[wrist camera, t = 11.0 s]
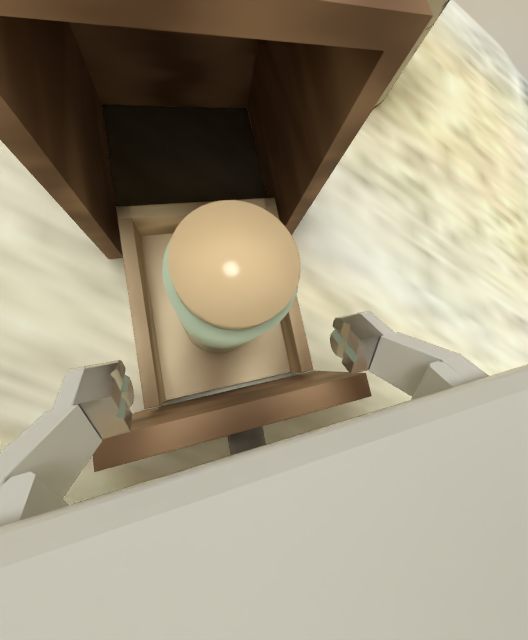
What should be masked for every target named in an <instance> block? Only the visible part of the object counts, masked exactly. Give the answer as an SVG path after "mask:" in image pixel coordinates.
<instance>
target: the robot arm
mask: <svg viewBox="0 0 528 640" xmlns="http://www.w3.org/2000/svg"><path fill="white" fill-rule="evenodd" d="M333 327H334V329H335V330H334V331H333V332H332V334H331V337H330V343H331V348H332V350H333V352H334V353H335V354H336V355H337V356H339V357H341V358H342V364H343V365H344V366H345V367H346V369H347V370H348V371H349V373H350V374H354V373H358V372H362V371H367V370H369V371H370V372H372V373H373V374H375V375H377V376H378V377H380V378H382V379H383V380H385V381H387V382H388V383H390V384H392V385H393V386H395V387H397V388H399V389H400V390H402V391H404V392H405V393H407V394H409V395H410V396H412V398H411V400H410V401H407V402H404V403H400V404H397V405H394V406H390V407H387V408H384V409H381V410H377V411H374V412H371V413H368V414H365V415H361V416H358V417H355V418H352V419H348V420H345V421H342V422H339V423H335V424H332V425H329V426H326V427H322V428H319V429H316V430H313V431H309V432H306V433H303V434H300V435H296V436H293V437H290V438H287V439H283V440H280V441H277V442H274V443H270V444H267V445H264V446H260V447H257V448H254V449H251V450H247V451H244V452H241V453H238V454H234V455H231V456H228V457H225V458H221V459H218V460H215V461H212V462H208V463H205V464H202V465H199V466H195V467H192V468H189V469H186V470H182V471H179V472H176V473H173V474H169V475H166V476H163V477H159V478H156V479H153V480H150V481H146V482H143V483H140V484H137V485H133V486H130V487H127V488H124V489H120V490H117V491H114V492H111V493H107V494H104V495H101V496H98V497H94V498H91V499H88V500H85V501H81V502H78V503H75V504H72V505H69V504H68V503H66V502H65V501H64V500H63V499H62V498H63V497H64V496H65V494H66V493H67V491H68V490H69V488H70V487H71V485H72V484H73V482H74V481H75V480H76V478H77V477H78V475H79V474H80V472H81V471H82V469H83V468H84V467H85V465H86V464H87V462H88V461H89V459H90V458H91V456H92V455H93V454H94V452H95V451H96V449H97V448H98V446H99V445H100V443H101V442H102V439H105V438H109V437H112V436H116V435H119V434H123V433H126V432H130V429H131V419H132V413H131V411H130V409H129V408H130V406H131V405H132V404H133V399H134V394H133V386H132V383H131V380H130V378H129V377H128V376H126V375H124V374H125V366H124V364H123V362H122V361H120V360H118V361H112V362H106V363H101V364H95V365H89V366H85V367H79V368H74V369H70V370H68V371H67V372H66V374H65V377H64V380H63V382H62V385H61V387H60V390H59V392H58V395H57V397H56V400H55V403H54V405H53V408H52V410H51V411H48V412H45V413H44V414H43V415H42V416H41V417H40V418H38V419H37V420H36V421H35V422H34V423H33V424H32V425H31V426H29V427H28V428H27V429H26V430H25V431H24V432H23V433H22V434H20V435H19V436H18V437H17V438H16V439H15V440H14V441H13V442H11V443H10V444H9V445H8V446H7V447H6V448H5V449H4V450H2V451H1V452H0V640H528V364H527V365H524V366H521V367H518V368H514V369H511V370H508V371H505V372H501V373H498V374H495V375H491V376H489V375H487V374H486V373H485V372H483V371H482V370H481V369H479V368H478V367H477V366H475V365H474V364H473V363H471V362H470V361H469V360H468V359H466V358H465V357H464V356H462V355H461V354H458V353H456V352H453V351H450V350H447V349H444V348H442V347H439V346H436V345H433V344H430V343H427V342H425V341H422V340H419V339H416V338H413V337H411V336H408V335H405V334H402V333H399V332H397V333H395V332H394V331H393V330H391V329H390V328H389V327H388V326H387V325H386V324H384V323H383V322H382V321H381V320H380V319H379V318H378V317H376V316H375V315H374V314H373V313H372V312H370V311H365V312H360V313H357V314H352V315H347V316H342V317H337V318H335V320H334V322H333Z"/></svg>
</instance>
